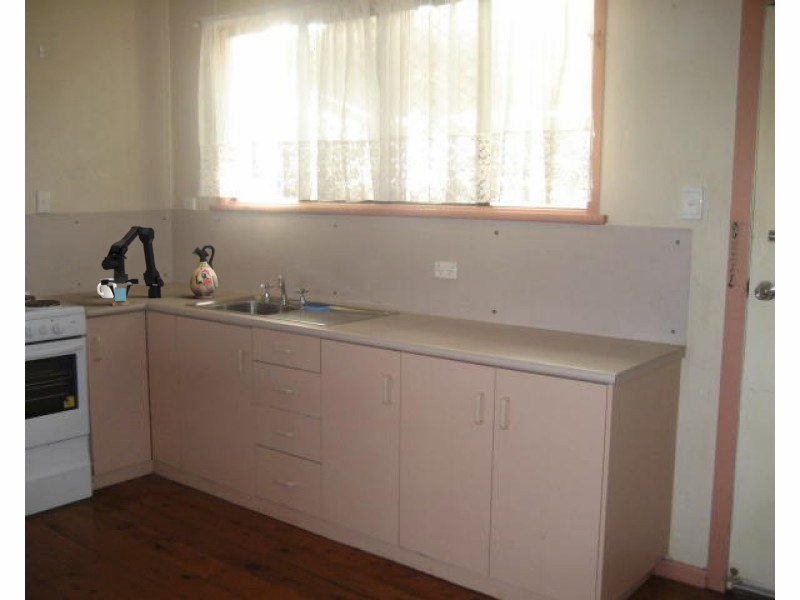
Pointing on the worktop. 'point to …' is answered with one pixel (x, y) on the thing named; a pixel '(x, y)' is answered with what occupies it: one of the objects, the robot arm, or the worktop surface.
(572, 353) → the worktop surface
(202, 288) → the ceramic jug
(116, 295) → the light blue block
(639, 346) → the worktop surface
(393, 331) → the worktop surface
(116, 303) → the stand
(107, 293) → the mug
